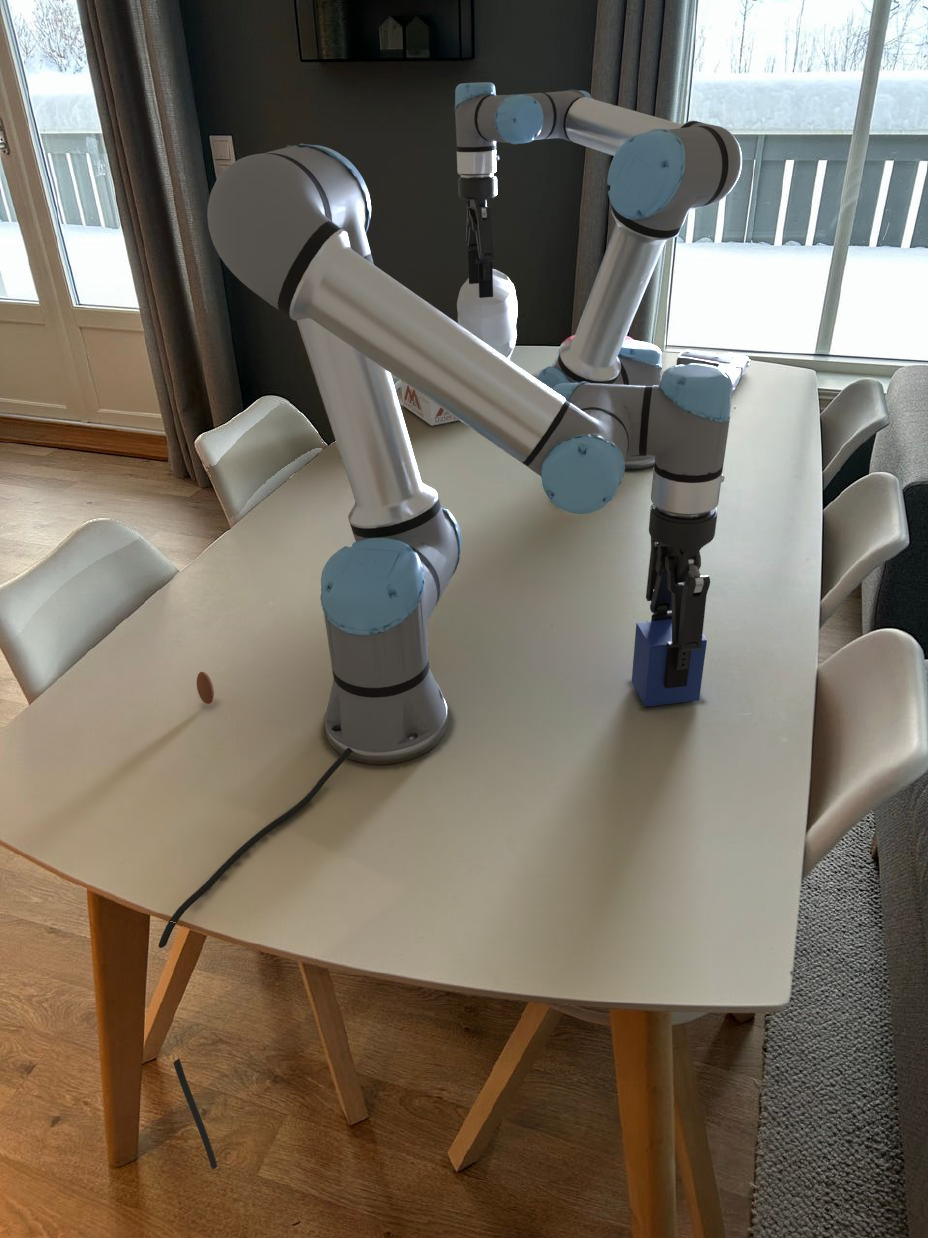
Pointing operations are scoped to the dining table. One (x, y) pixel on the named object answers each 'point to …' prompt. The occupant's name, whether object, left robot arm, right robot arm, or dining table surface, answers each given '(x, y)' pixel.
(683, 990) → the dining table surface
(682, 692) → the block
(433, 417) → the white cardboard box
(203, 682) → the brown ellipsoid
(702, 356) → the pistol
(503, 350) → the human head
